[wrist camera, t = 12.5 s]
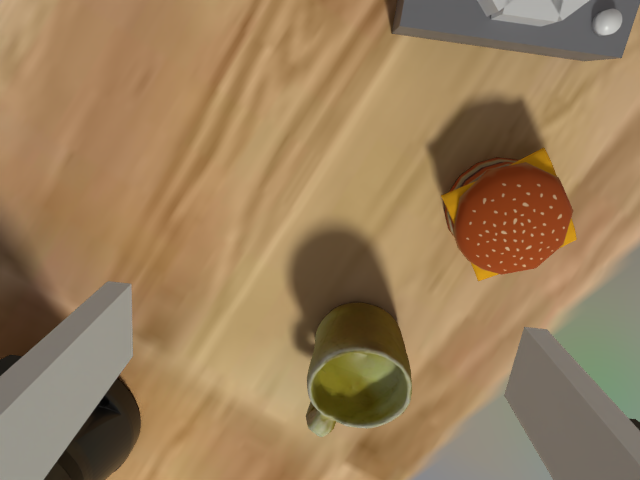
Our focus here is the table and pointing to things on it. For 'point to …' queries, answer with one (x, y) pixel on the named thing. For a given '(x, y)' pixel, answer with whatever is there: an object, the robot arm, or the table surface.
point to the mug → (357, 370)
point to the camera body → (524, 25)
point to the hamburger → (509, 214)
